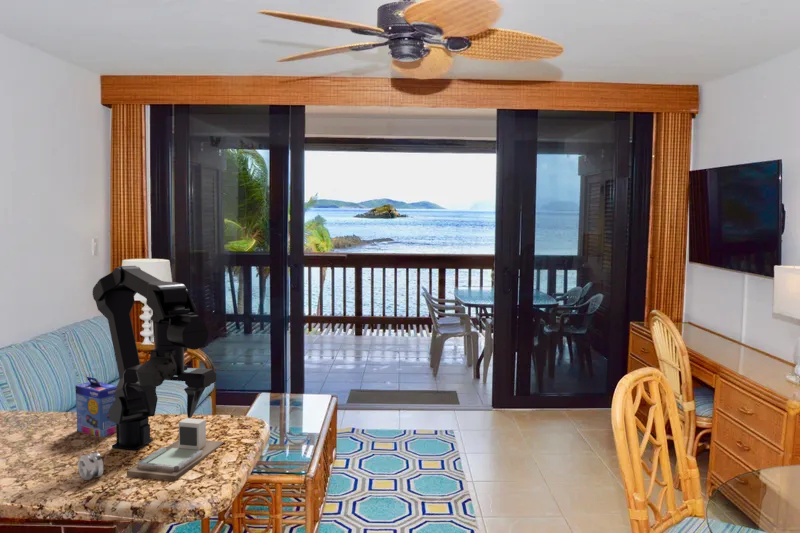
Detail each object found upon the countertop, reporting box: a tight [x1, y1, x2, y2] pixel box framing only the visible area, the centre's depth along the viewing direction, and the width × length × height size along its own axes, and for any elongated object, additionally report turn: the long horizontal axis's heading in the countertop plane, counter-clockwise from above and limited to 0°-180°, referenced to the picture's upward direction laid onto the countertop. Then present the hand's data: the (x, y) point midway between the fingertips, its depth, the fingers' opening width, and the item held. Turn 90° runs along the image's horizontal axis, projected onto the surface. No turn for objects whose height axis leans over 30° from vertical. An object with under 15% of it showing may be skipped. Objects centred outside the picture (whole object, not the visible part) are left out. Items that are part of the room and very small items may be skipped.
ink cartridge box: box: [74, 376, 117, 438], centre depth 148 cm, size 10×6×14 cm, turn 61°
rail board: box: [126, 439, 225, 481], centre depth 131 cm, size 11×20×1 cm, turn 168°
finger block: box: [178, 417, 207, 450], centre depth 136 cm, size 5×3×6 cm
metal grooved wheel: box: [77, 451, 104, 481], centre depth 122 cm, size 5×3×5 cm, turn 51°
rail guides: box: [137, 446, 202, 472], centre depth 128 cm, size 10×10×1 cm
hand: (170, 415), depth 128 cm, fingers open, 9 cm apart
